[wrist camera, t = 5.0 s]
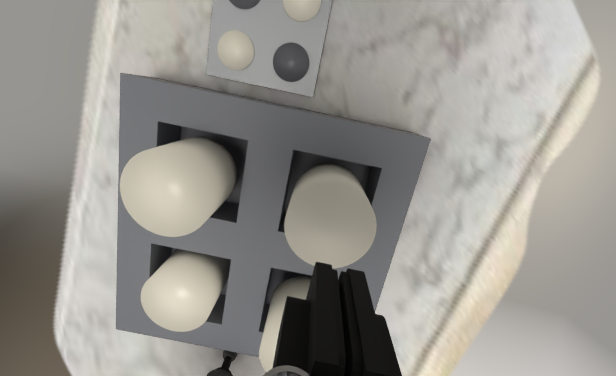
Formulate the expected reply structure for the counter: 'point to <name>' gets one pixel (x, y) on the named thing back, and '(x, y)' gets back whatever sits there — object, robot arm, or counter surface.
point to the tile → (268, 42)
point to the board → (253, 199)
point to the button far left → (184, 290)
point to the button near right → (329, 217)
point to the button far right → (279, 316)
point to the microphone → (224, 365)
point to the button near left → (177, 185)
